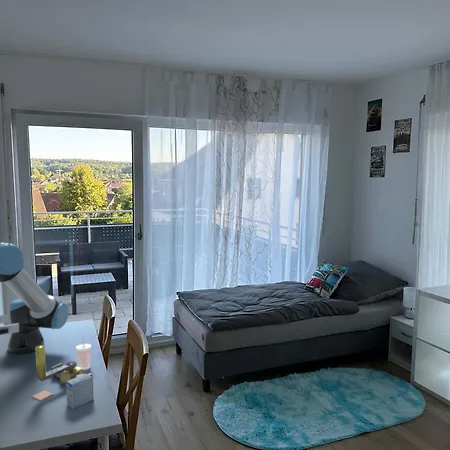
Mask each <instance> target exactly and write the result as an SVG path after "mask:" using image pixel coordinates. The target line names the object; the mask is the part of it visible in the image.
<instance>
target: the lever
mask: <svg viewBox="0 0 450 450" xmlns="http://www.w3.org/2000/svg"><path fill="white" fill-rule="evenodd" d="M45 349H46V348H45V344H44V345H39V346H36V347H35V351H34V352H35V364H36V366H35V367H36V368H35V370H36V378H37V380H38V381H41V382H44V381H46V380H49V379H50V378H51V379H52V377H53V376H55V375H57V374H60V373H62V372H64V371H66V370H68V369H73V368H75V367H76V366H77V367H78V365H77V364H78V362H77V361H74V360H73V361H67V362H65V364H63V366H61V367H58V368H56V369H54V370H52V371H50V370H48V371H49V372H47V369H46V368H47V367H46V366H47V365H46V350H45ZM46 372H47V373H46Z"/></svg>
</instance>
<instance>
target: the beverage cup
mask: <svg viewBox="0 0 450 450" xmlns="http://www.w3.org/2000/svg"><path fill="white" fill-rule="evenodd" d="M91 349H92V344H91V343H85V334H82V343H80V344H77V345H76V346H75V350H76V355H77V356H76V357H77V364H78V365H77V367H80V368H82V369H83V371H84V370H85V371H86V370H89V369H90V368H91V356H92V355H91V353H92V352H91V351H92V350H91Z"/></svg>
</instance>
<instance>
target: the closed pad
mask: <svg viewBox="0 0 450 450" xmlns="http://www.w3.org/2000/svg"><path fill="white" fill-rule="evenodd" d="M51 396H54V393H52V392H49V391H48V390H45V389H44V390H42V391H40V392H38V393H36V394H33V395H32V396H31V398H32V399H35V400H37V401H39V402H42V401H43V400H46V399H48V398H50V397H51Z"/></svg>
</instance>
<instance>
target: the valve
mask: <svg viewBox="0 0 450 450" xmlns="http://www.w3.org/2000/svg"><path fill="white" fill-rule="evenodd" d="M63 365H64V363H63V362H61V363H60V362H59V363H58V364H56V365H53V366H51V367H50V370H51V371H52V370H54V369H56V368H58V367H61V366H63ZM83 372H84V370H83V369H82V368H80V367H78V365H77V366H76V367H75V368H73V369H68V370H66V371H64V372H62V373H60V374H57V375H55V376H53V377H51V379H53V380H54V379H56V378H59V379H60V380H59V381H60V384H62V385H65V386H66V382H67V381H69V380H71V379H74V378H76V377H78V376H81V375H84V374H85V373H83ZM87 374H88V375H90V376H91V377H93V373H91V372H90V373H87Z"/></svg>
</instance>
